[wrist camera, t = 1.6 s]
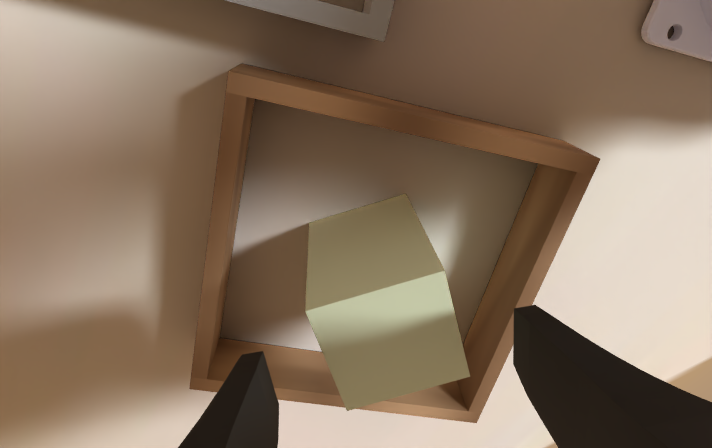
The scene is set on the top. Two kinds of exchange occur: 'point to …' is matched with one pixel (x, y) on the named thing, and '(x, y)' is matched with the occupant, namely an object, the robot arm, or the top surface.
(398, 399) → the walnut bin
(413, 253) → the sage block
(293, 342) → the top surface
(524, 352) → the robot arm
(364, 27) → the grey bin
